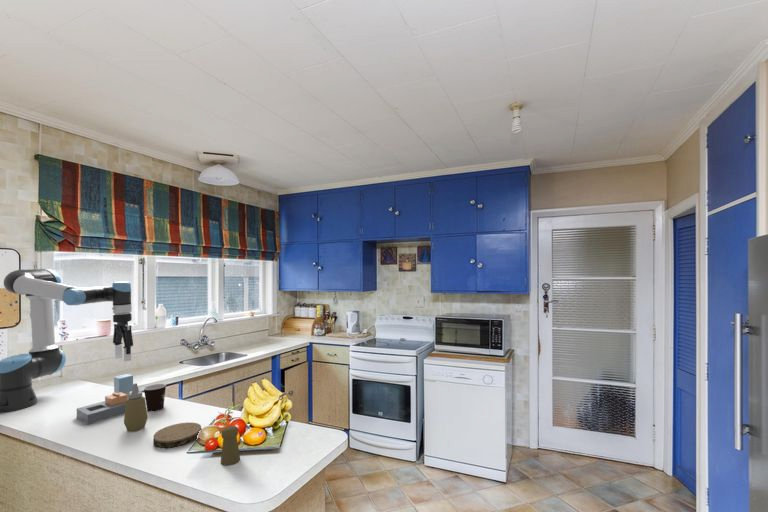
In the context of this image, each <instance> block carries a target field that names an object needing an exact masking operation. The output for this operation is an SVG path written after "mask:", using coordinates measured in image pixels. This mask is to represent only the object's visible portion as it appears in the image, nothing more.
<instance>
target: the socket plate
mask: <svg viewBox="0 0 768 512" xmlns="http://www.w3.org/2000/svg"><path fill="white" fill-rule="evenodd" d="M128 399H129V398H127V400H128ZM125 404H126V402H123V403H119V404H116V405H112V406H110V405H108V404H106V403H105V400H104V401H100V402H96V403H92V404H88V405H83V406H82V407H78V408H76V419H78V420H80V422H83V423H84V424H86V425H91V424H95V423H98V422H101V421H105V420H107V419H111V418H115V417H118V416H120V415H121V416H122V415H125Z"/></svg>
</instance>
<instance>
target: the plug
mask: <svg viewBox="0 0 768 512" xmlns="http://www.w3.org/2000/svg"><path fill="white" fill-rule="evenodd" d="M133 384H134V375H133V374H130V373H125V374H120V375H116V376H113V393H120V392H122V393H124V394H127V398H128V394H129V393H131V392H132V388H133Z"/></svg>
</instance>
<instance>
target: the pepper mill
mask: <svg viewBox="0 0 768 512" xmlns="http://www.w3.org/2000/svg"><path fill="white" fill-rule="evenodd" d="M220 435H221V438H222V447H221V453H220V454H221V456H220V465H221V466H224V467H225V466H232V465H233V466H234V465H235V464H237V463H239V462H240V460H241V455H240V449H239V443H238V435H239V428H238V427H237V426H235V425H228V426H225V427H223V429H222V430H221V433H220Z"/></svg>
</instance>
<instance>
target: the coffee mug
mask: <svg viewBox="0 0 768 512" xmlns="http://www.w3.org/2000/svg"><path fill="white" fill-rule="evenodd" d="M166 388H167V385H166V384H165V383H155V384H154V383H153V384H151V385H147V386H145V387H143V391H144V392H143V393H144V397H145V402H146V409H147V412H149V411H154V412H157V411H158V410H159V411H161V410H163V409H164V408H165V407H164V406H165V395H166Z"/></svg>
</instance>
